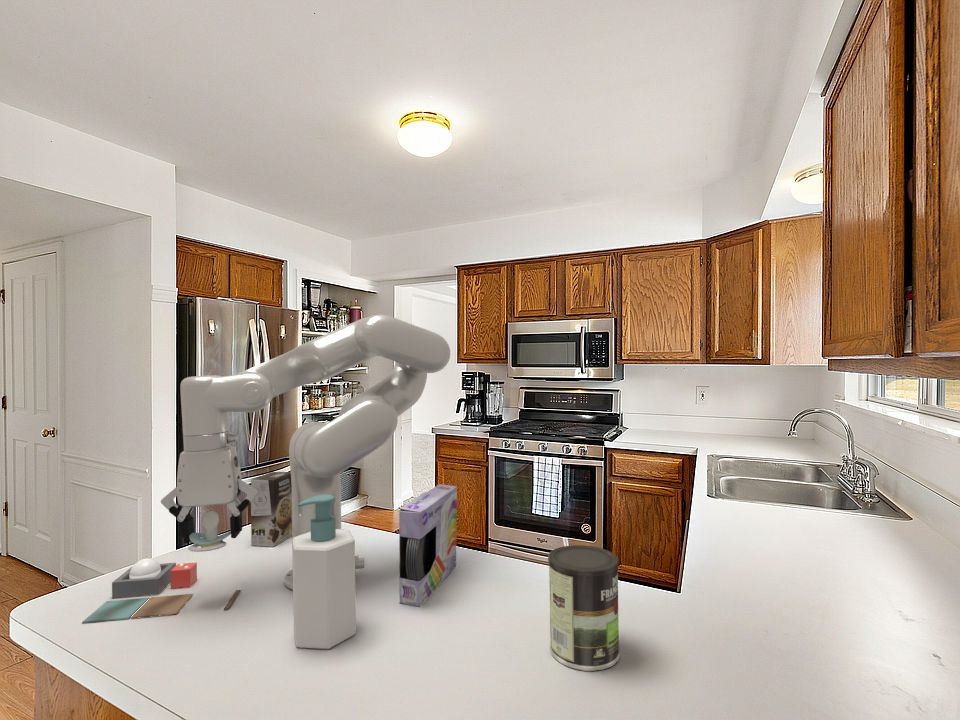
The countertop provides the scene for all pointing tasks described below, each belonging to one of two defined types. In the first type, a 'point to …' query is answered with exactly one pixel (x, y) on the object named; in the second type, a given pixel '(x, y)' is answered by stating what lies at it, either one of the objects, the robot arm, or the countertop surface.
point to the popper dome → (145, 569)
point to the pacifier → (208, 534)
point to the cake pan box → (427, 543)
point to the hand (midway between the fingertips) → (212, 537)
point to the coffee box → (271, 509)
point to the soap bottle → (323, 581)
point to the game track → (143, 607)
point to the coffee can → (584, 607)
